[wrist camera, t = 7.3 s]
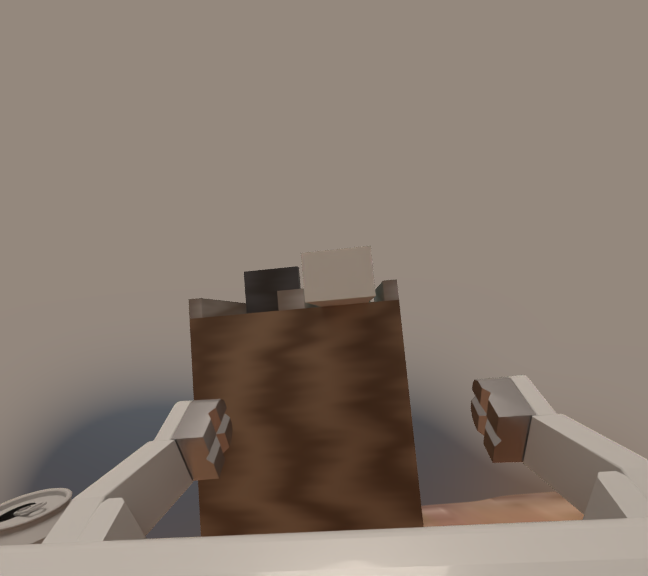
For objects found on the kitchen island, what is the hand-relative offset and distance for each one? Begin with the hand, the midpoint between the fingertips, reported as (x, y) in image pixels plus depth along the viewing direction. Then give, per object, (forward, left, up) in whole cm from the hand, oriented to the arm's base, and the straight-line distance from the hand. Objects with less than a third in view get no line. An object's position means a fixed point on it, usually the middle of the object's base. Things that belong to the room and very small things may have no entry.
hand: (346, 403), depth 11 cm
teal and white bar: (0, -15, +4) cm, 16 cm away
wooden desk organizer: (+4, -20, -22) cm, 30 cm away
